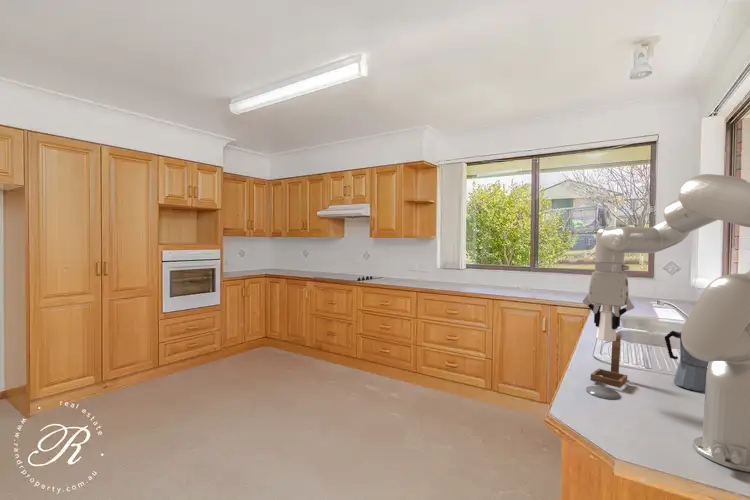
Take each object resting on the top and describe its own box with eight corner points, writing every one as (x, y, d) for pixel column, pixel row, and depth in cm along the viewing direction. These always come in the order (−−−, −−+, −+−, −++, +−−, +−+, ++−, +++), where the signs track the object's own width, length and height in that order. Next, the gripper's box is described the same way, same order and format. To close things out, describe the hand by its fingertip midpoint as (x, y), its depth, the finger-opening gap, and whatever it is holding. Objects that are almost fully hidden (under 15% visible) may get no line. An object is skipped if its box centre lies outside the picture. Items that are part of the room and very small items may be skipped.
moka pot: (726, 395, 120) (731, 332, 119) (671, 390, 123) (674, 328, 122) (707, 384, 129) (710, 325, 129) (655, 379, 133) (659, 322, 132)
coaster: (615, 402, 113) (615, 400, 113) (581, 392, 119) (582, 390, 119) (623, 393, 119) (623, 392, 119) (591, 385, 126) (591, 383, 126)
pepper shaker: (618, 339, 118) (620, 304, 118) (613, 342, 115) (615, 305, 114) (598, 335, 122) (600, 301, 122) (593, 338, 118) (595, 303, 118)
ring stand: (620, 391, 121) (622, 341, 121) (590, 383, 127) (592, 335, 127) (630, 380, 131) (633, 334, 130) (602, 373, 137) (604, 329, 136)
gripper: (644, 270, 114) (641, 330, 115) (583, 266, 126) (581, 321, 127) (638, 271, 109) (635, 334, 110) (575, 266, 121) (573, 324, 122)
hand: (606, 326), depth 118 cm, fingers closed on pepper shaker, 4 cm apart
